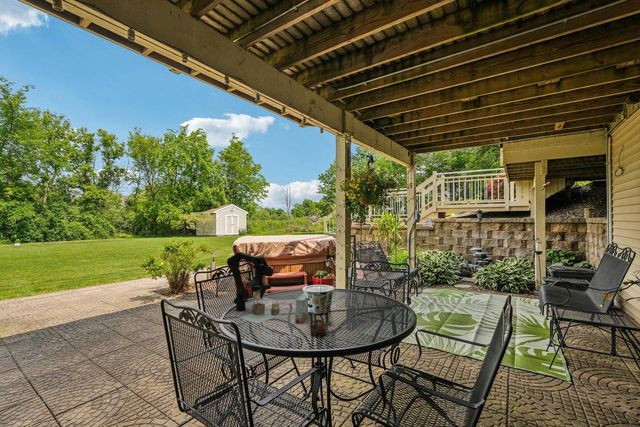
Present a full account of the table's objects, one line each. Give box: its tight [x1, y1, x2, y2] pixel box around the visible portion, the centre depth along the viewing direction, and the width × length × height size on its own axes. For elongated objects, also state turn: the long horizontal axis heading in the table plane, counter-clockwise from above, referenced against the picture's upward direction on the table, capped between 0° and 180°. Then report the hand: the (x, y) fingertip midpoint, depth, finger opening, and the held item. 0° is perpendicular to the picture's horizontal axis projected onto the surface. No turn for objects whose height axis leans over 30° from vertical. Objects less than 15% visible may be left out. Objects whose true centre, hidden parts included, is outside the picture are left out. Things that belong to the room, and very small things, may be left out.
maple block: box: [252, 290, 265, 301], centre depth 199 cm, size 5×5×5 cm
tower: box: [270, 302, 280, 317], centre depth 198 cm, size 4×4×8 cm
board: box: [238, 309, 282, 324], centre depth 195 cm, size 18×22×1 cm
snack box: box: [294, 292, 310, 324], centre depth 194 cm, size 21×6×15 cm, turn 168°
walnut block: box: [251, 302, 266, 315], centre depth 200 cm, size 6×6×6 cm
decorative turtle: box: [309, 318, 328, 337], centre depth 168 cm, size 10×15×8 cm, turn 17°
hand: (258, 297), depth 199 cm, fingers closed on maple block, 5 cm apart
